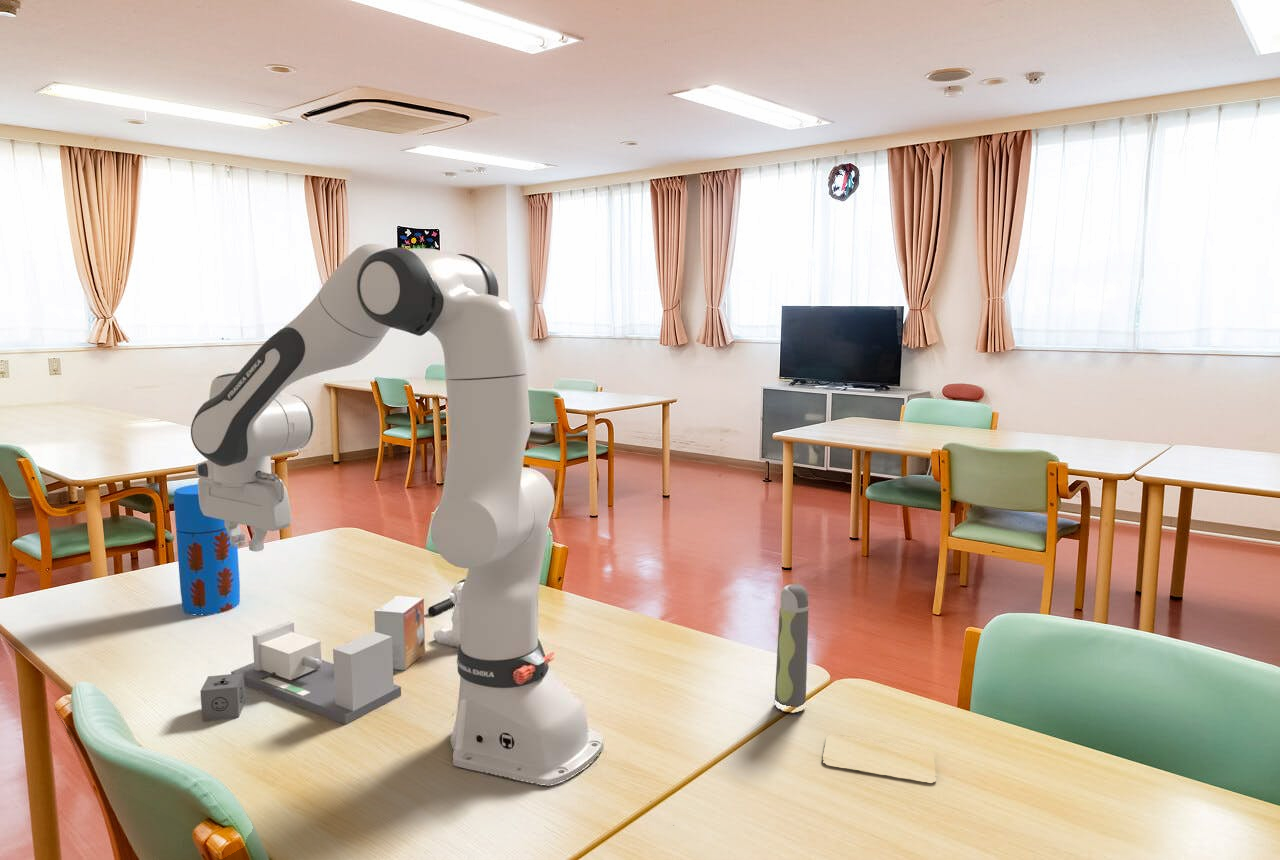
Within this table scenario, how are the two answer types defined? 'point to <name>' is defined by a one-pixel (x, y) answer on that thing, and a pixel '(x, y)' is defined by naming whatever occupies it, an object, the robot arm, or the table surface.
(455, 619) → the white creature statuette
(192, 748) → the table surface
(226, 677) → the dice cube
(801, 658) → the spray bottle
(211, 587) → the thermos
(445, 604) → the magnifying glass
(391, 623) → the small box
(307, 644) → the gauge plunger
